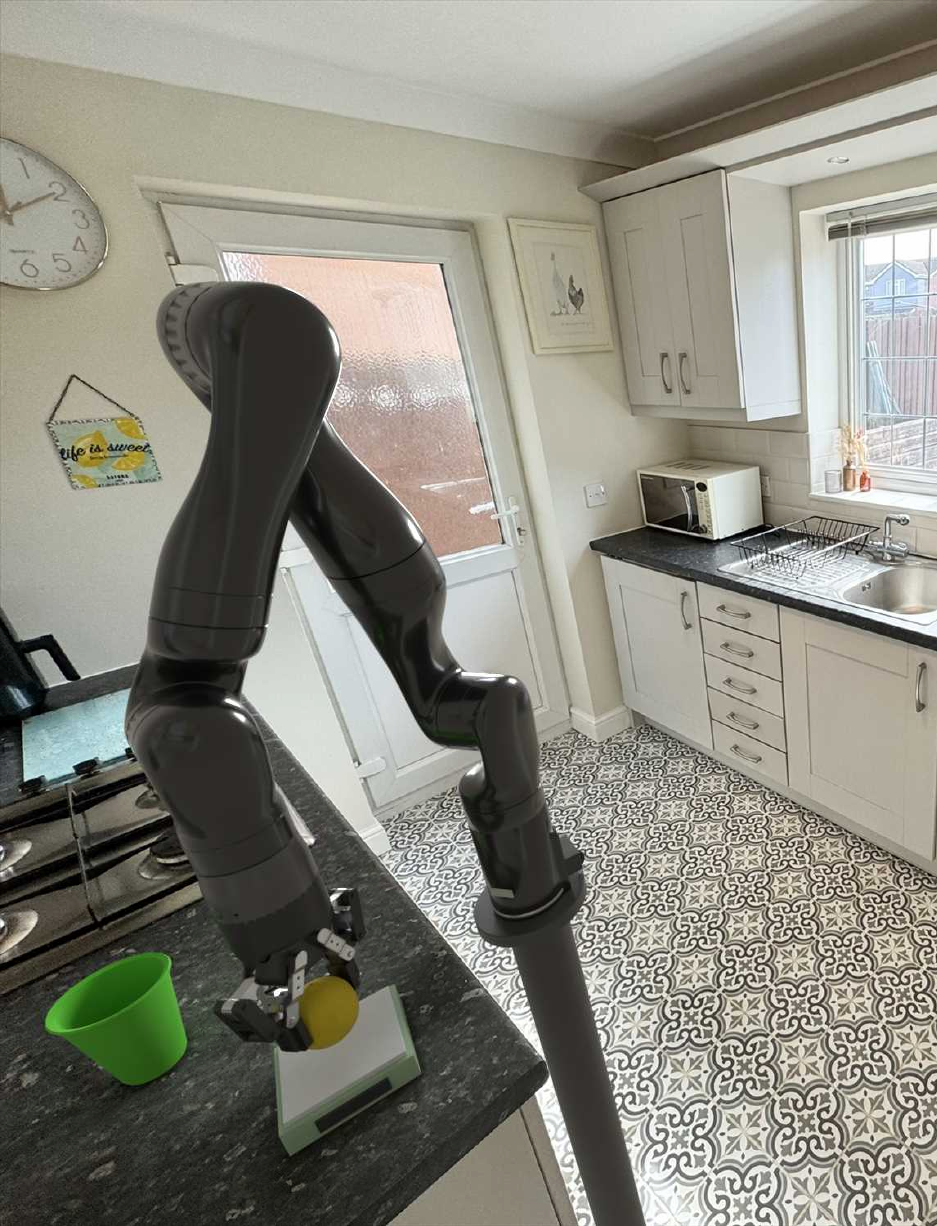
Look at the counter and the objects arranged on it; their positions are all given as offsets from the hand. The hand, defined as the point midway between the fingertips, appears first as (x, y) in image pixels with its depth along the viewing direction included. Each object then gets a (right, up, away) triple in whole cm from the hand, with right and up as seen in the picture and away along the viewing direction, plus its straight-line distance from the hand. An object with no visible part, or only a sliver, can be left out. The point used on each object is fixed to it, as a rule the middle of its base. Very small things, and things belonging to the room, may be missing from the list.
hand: (326, 1015), depth 64 cm
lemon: (0, -3, +1) cm, 4 cm away
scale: (0, -8, +3) cm, 8 cm away
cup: (-22, -8, +5) cm, 24 cm away
